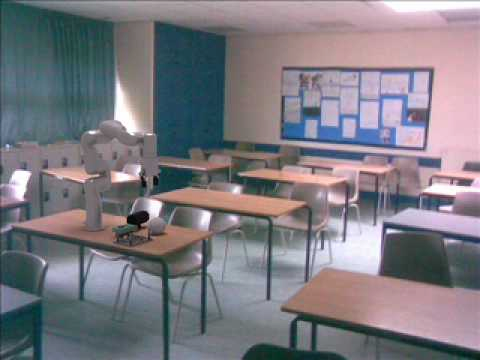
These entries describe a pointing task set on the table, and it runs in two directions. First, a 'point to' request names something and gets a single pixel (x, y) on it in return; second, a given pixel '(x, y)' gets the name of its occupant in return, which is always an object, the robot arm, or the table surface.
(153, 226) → the eye model
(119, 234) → the stand
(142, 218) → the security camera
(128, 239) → the chassis
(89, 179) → the robot arm
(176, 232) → the table surface
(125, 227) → the board
